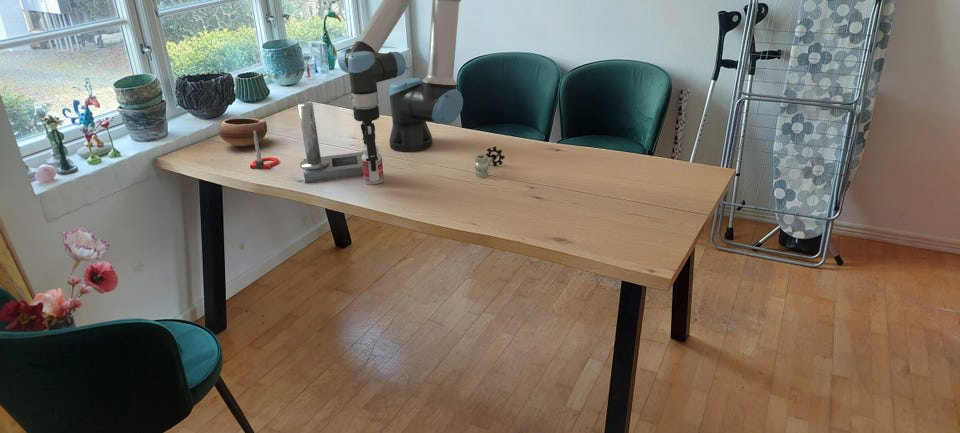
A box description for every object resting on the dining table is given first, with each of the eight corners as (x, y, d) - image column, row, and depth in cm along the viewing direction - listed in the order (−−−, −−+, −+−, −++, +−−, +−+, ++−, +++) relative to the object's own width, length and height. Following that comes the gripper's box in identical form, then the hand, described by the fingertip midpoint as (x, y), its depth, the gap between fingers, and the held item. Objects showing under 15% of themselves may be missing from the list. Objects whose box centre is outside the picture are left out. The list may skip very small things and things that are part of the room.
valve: (488, 180, 209) (505, 166, 219) (488, 160, 207) (504, 147, 216) (469, 177, 212) (486, 164, 222) (468, 157, 209) (485, 145, 219)
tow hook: (260, 160, 235) (247, 168, 227) (254, 123, 230) (241, 131, 222) (283, 160, 234) (271, 169, 226) (277, 124, 229) (265, 131, 221)
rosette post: (365, 160, 230) (357, 93, 220) (369, 174, 217) (360, 104, 207) (301, 167, 226) (290, 99, 216) (301, 183, 213) (290, 111, 203)
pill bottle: (379, 185, 209) (375, 151, 204) (360, 184, 210) (356, 150, 206) (387, 178, 214) (383, 144, 209) (369, 176, 216) (365, 143, 211)
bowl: (276, 141, 251) (272, 115, 247) (242, 155, 239) (237, 128, 235) (248, 135, 259) (243, 110, 255) (213, 148, 247) (208, 122, 243)
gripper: (350, 96, 212) (357, 160, 221) (355, 118, 189) (363, 188, 198) (374, 94, 214) (380, 157, 222) (383, 116, 191) (389, 185, 200)
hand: (372, 173), depth 210 cm, fingers open, 13 cm apart
